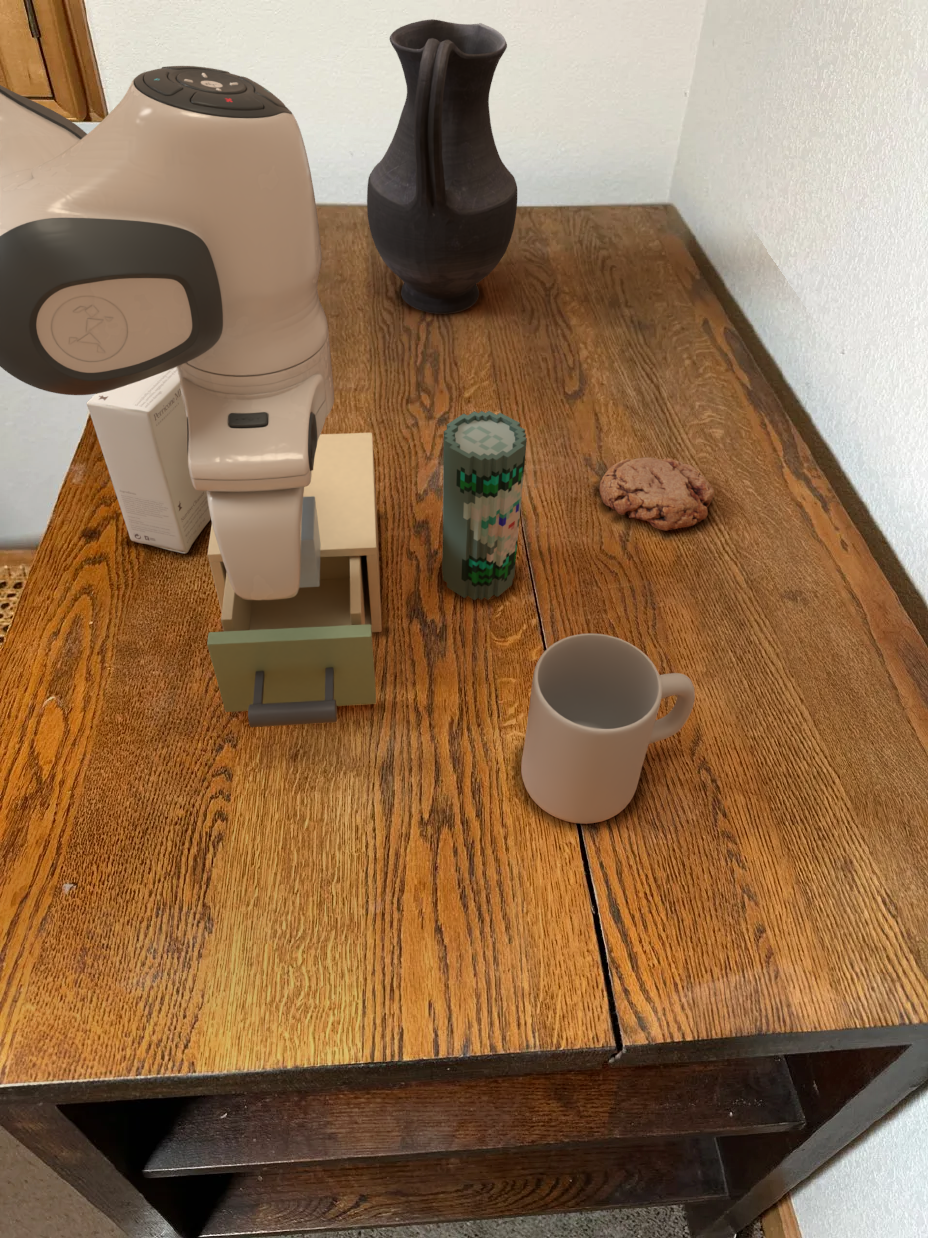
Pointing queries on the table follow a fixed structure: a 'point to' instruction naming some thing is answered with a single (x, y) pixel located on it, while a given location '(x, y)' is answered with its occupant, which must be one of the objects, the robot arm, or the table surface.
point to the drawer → (297, 650)
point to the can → (481, 502)
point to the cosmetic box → (151, 461)
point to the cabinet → (338, 513)
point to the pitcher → (443, 169)
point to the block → (310, 545)
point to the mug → (595, 725)
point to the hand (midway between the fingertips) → (284, 549)
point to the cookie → (657, 492)
